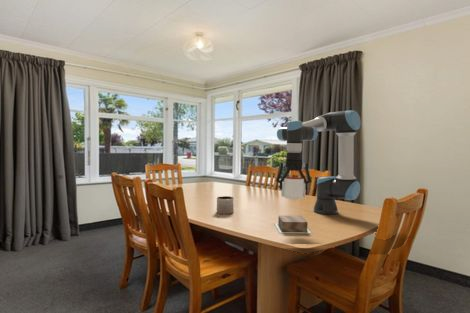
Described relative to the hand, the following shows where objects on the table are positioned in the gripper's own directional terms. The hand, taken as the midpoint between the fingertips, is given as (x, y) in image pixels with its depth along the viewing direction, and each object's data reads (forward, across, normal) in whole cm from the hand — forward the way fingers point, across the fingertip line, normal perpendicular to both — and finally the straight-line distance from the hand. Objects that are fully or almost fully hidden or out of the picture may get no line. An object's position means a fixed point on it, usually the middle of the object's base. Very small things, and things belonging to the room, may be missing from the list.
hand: (293, 196), depth 137 cm
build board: (+18, 0, 0) cm, 18 cm away
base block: (+16, 0, 0) cm, 16 cm away
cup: (+1, 0, 0) cm, 1 cm away
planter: (+18, +35, -38) cm, 55 cm away
